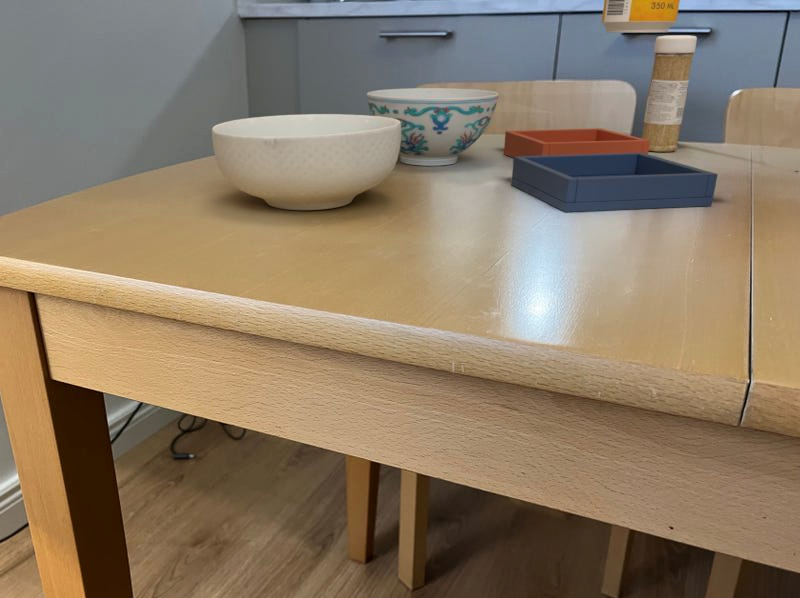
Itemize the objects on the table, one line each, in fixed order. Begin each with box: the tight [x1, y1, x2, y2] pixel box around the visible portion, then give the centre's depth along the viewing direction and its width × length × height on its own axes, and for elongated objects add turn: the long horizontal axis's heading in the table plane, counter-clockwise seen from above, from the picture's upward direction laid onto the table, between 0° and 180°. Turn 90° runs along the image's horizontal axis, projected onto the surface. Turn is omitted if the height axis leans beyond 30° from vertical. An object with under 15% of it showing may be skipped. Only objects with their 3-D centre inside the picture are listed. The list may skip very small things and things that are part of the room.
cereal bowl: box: [211, 113, 401, 211], centre depth 68 cm, size 17×17×7 cm
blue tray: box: [510, 153, 718, 213], centre depth 70 cm, size 14×13×3 cm
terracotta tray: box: [503, 127, 650, 159], centre depth 89 cm, size 13×12×3 cm
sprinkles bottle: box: [641, 34, 698, 153], centre depth 93 cm, size 5×5×14 cm
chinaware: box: [366, 87, 499, 167], centre depth 88 cm, size 15×15×8 cm
